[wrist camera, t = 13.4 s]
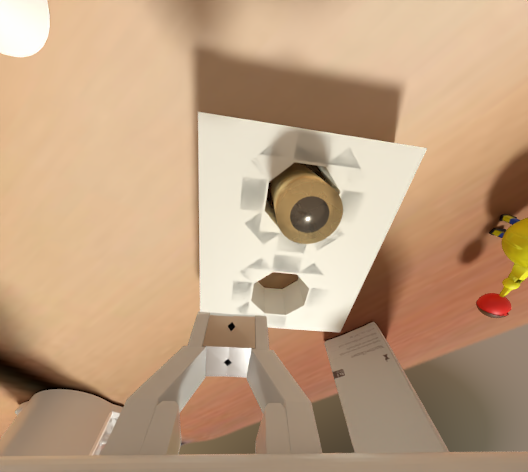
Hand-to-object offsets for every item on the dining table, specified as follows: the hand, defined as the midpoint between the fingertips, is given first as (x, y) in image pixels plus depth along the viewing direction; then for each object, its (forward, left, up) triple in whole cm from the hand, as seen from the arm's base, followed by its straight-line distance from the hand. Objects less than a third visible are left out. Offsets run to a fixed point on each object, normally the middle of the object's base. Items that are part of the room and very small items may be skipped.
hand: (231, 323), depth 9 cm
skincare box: (-19, -18, -13) cm, 29 cm away
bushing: (+3, -4, -13) cm, 14 cm away
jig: (-2, -4, -13) cm, 14 cm away
